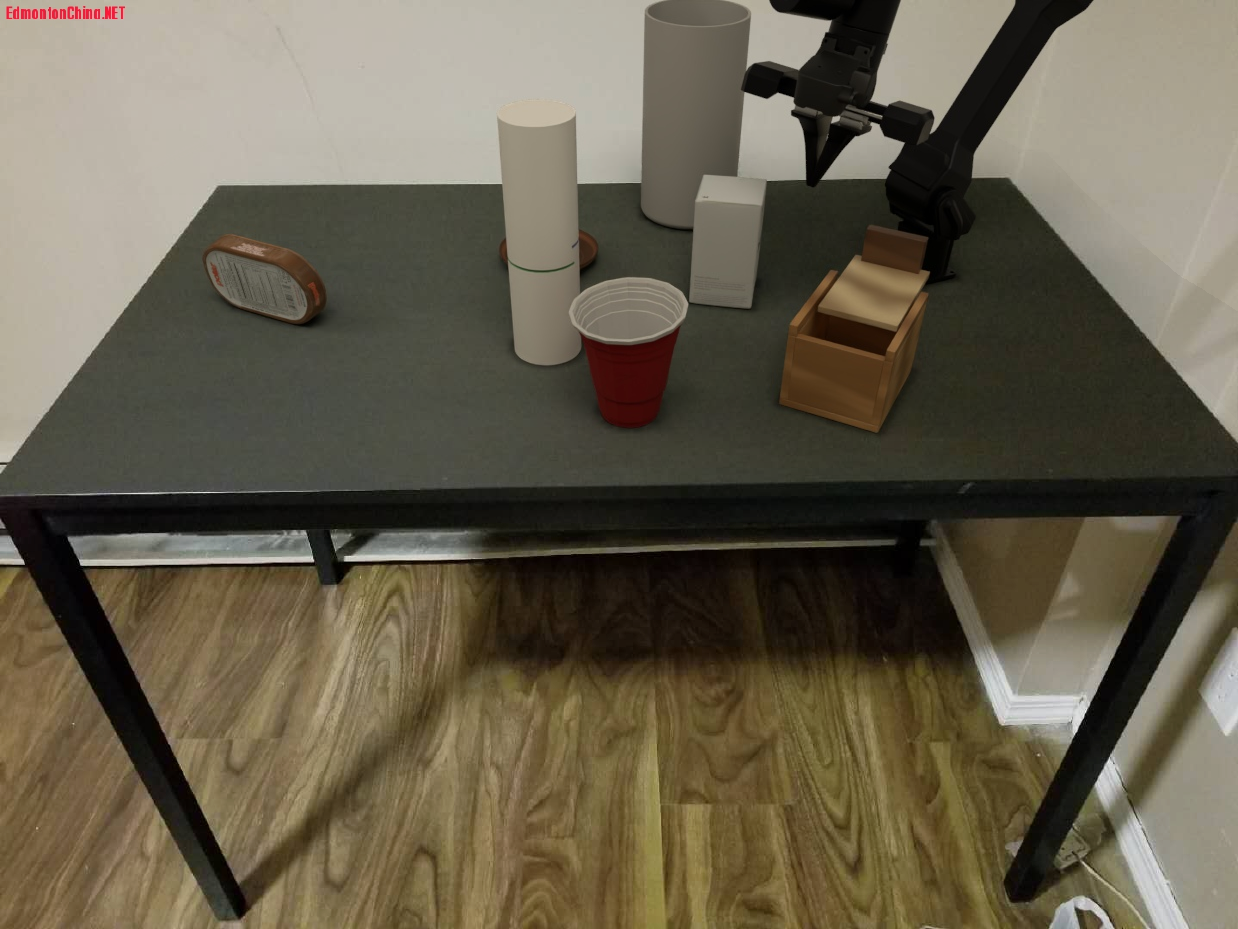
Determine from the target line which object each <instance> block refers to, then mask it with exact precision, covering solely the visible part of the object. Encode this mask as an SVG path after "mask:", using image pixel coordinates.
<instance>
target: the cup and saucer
mask: <svg viewBox="0 0 1238 929" xmlns="http://www.w3.org/2000/svg"><path fill="white" fill-rule="evenodd" d="M578 238H579V270H582V269H584V268H586V267H587V266H589V265H590V264H591V263H592V262H593V261H594V260H595V259H596V258H597V255H598V252H599V243H598V241H597V239H595V237H593V235H591V233H589V232H587V231H585V230H582V229H579V237H578ZM498 252H499V255H500V258H501V259H502V261H503V262H504V263H505V264H506V265H507V266H508V255H507V242H506V237H505V238H504V239H503V240H502V241H501V242H500V244H499V247H498Z"/></svg>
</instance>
